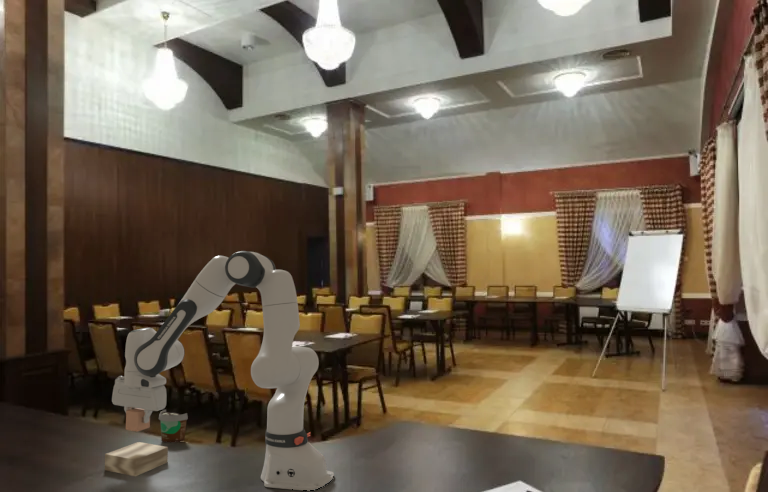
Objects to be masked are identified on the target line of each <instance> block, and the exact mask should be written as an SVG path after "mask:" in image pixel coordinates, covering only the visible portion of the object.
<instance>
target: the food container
mask: <svg viewBox="0 0 768 492" xmlns="http://www.w3.org/2000/svg"><path fill="white" fill-rule="evenodd" d="M188 417H189V416H188V413H187V412H186V413H183V414H180V413H177V412H167V409H162V411H161V410H160V413H159V415H158V420H159V421H160V433H161V437H160V438H161V441H162V442H164V443H179V442H184V441H185V437H186V431H187V430H186V429H187V428H186V427H187V420H188V419H189V418H188Z"/></svg>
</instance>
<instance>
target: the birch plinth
mask: <svg viewBox="0 0 768 492" xmlns="http://www.w3.org/2000/svg"><path fill="white" fill-rule="evenodd" d="M168 453H169V446H163V445H159V444H153V443H147V442H140V441H137V442H134V443H132V444H129V445H126V446H123V447H121V448H118V449H115V450H112V451H110V452H107V453H104V471H108V472H112V473H118V474H122V475H126V476H131V477H138V476H139V475H143V474H144V473H147V472H149V471H152V470H154V469H157V468H158V467H160V466H163V465H165V464H167V463H168V462H169V461H168V459H169V458H168V457H169V454H168Z"/></svg>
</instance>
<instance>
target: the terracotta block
mask: <svg viewBox="0 0 768 492" xmlns="http://www.w3.org/2000/svg"><path fill="white" fill-rule="evenodd" d="M144 415H145V413H144V409H139V408H131V410H127V411H126V412H125V430H126V431H131V432H136V433H137V432H141V431H143V430H146V429H147V430H148V429H149V428H150V427H151V425H150V424H151V416H150V417H149V422H148V423H142V417H144Z"/></svg>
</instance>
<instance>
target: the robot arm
mask: <svg viewBox="0 0 768 492" xmlns="http://www.w3.org/2000/svg"><path fill="white" fill-rule="evenodd" d="M235 285H238V286H240V287H241V286H242V287H248V288H255V289H256V288H257V289H258V291H259V293H260V296H261V297H260V298H261V306H262V319H263V337H262V343H261V346H260V348H259V351H258V353H257V355H256V357H255V358H254V360H253V361H252V364H251V366H250V376H251V379H252V381H253V383H254V384H255V385H256V386H257V387H258V388H261V389H275V391H274V392H275V393H274V394H273V396H272V398H271V399H270V401H268V404H267V408H266V409H267V410H266V411H267V413H266V414H267V415H266V416H267V418H266V430H265V440H264V442H265V455H264V461H263V467H262V471H261V475H260V480H261V481H262V482H263V484H264V485H263V486H264V487H266V488H273V489H283V490H292V489H293V491H303V490H307V491H306V492H311V491H310V490H314V489H318V488H320V487H322V486H324V485H325V484H326V483H328V482H329V481H330V480H331V479H332V478H333V476H334V477H335V473H334V471H332V470H327V469H328V468H327V463H326V462H327V461H326V457H325V455H323V454H322V453H321V452H320V451H319V450H318V449H317V448H316V447H315V446H313V445H312V444H311V443H310V441H309V439H308V437H311V431H310V432H308V433H307V432H306V430H305V428H304V412H305V411H304V410H305V401H306V396H307V393H308V389H309V386H310V385H311V384H310V383H311V381H312V378H313V376H314V375H315V374H316V372H317V371H318V369H319V361H320V360H319V356H318V354H317V353H316V351H315V350H314V349H312V348H311V347H307V346H293V342H294V338H295V336H296V335H297V332H298V331H299V330H300V327H301V326H300V325H301V322H300V315H299V314H300V312H299V304H298V296H297V290H296V286H295V283H294V279H293V276H292V275H291V273H290V272H289V271H287V270H283V269H277V268H276V265H275V263H274V261H273V260H272V259H271V258H270V257H269V256H266V255H264V254H263V255H262V254H261V253H259V252H256V251H255V252H254V251H248V250H247V251H246V250H241V251H237V252H234V253H233V254H231V255H230V256H229V257H228V256H224V255H216V256H214V257H212V259H211V260H210V261H208V262H207V264H206V265H205V266H204V267H203V268H202V269H201V271H200V272H199V273H198V274H197V275H196V277H195V279H194V280H193V282H192V283H191V285H190V287H188V289H187V291H186V292H185V294H184V295H183V297H182V298H181V300H180V301H179V303H178V304H177V306H175V308H174V309H173V311H171V313H170V314H169V315H168V316H167V318H166V319H165V321H164V322H163V323H162V324H161V326H160V327H159V328H158V330H157V331H156V330H155V329H154V328H153V327H144V328H139V329H138V328H137V329H133V330H131V331H130V332H129V333H128V334H127V337H126V342H125V350H124V351H125V352H124V357H125V367H124V372H123V373H124V376H123V375H119V376H118V377H116V378H115V380H114V385H113V389H112V395H111V403H112V404H113V405H114V406H120V407H123V410H124V412H125V413H126V411H127V410H131V409H134V408H139V409H144V413H145V415H144V417H142V423H148V422H149V417H150V418H151V415H152V413H153V412H158V411H161V410H162V411H163V410H165V408H166V406H167V388H166V386H165V385H166V384H167V378H166V377H165V376H163V375H162V374H161V373H162V372H165V371H168V370H170V369H171V368H174V367H177V366H178V365H179V364H180V363H181V362H182V361H183V360H184V357H185V348H184V345H183V343H182V342H181V341H180V340H179V338H180V337H181V335H182V334H183V332H185V330H187V328H188V327H189V326H191V324H193V323H194V322H197V321H198V320H199V319H201V318H203V317H206V316H208V315H209V314H212V313H213V312H214V311H215V310H216V309H218V307H219V306H220V305H221V304H222V302H223V301H224V300H225V298H226V296H228V294H229V292H230V291H231V289H232V288H233V287H234V286H235ZM330 475H331V476H330ZM333 479H334V478H333ZM324 487H325V486H324ZM322 488H323V487H322ZM320 489H321V488H320ZM318 490H319V489H318ZM314 491H315V490H314Z"/></svg>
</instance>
